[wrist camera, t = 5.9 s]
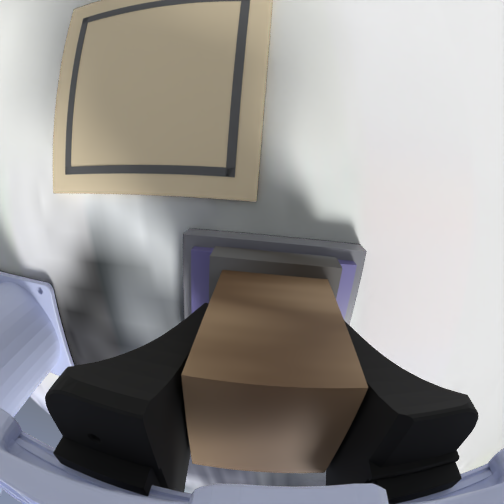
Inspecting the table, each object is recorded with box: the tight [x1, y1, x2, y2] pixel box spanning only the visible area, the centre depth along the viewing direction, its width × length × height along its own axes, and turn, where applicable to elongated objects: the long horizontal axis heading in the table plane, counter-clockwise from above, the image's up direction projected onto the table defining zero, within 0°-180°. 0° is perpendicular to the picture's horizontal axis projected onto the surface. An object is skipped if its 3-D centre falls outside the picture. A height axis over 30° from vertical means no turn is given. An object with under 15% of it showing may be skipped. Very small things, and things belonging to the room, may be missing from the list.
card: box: [53, 0, 273, 202], centre depth 11 cm, size 11×11×1 cm
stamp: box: [181, 246, 368, 473], centre depth 10 cm, size 5×5×7 cm
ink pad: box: [183, 228, 366, 325], centre depth 14 cm, size 8×6×2 cm
